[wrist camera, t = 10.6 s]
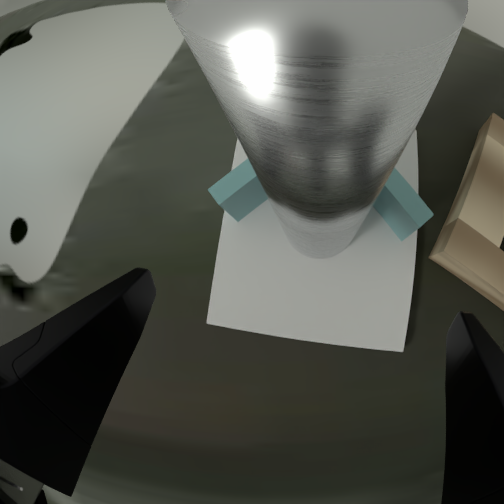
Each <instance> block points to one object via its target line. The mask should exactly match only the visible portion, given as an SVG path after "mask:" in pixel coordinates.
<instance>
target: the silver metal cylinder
mask: <svg viewBox="0 0 504 504" xmlns="http://www.w3.org/2000/svg"><path fill="white" fill-rule="evenodd" d="M165 2H166V4H167V7H168V10H169V11H170V13H171V15H172V17H173V18H174V20H175V22H176V24H177V25H178V27H179V29H180V31H181V32H182V34H183V36H184V38H185V40H186V42H187V43H188V45H189V47H190V49H191V51H192V52H193V54H194V56H195V58H196V60H197V62H198V63H199V65H200V67H201V69H202V71H203V73H204V75H205V76H206V78H207V80H208V82H209V84H210V86H211V88H212V90H213V91H214V93H215V95H216V97H217V99H218V101H219V103H220V105H221V107H222V109H223V110H224V112H225V114H226V116H227V118H228V120H229V122H230V124H231V126H232V128H233V130H234V132H235V134H236V136H237V138H238V139H239V141H240V143H241V145H242V147H243V149H244V151H245V153H246V155H247V157H248V159H249V161H250V163H251V165H252V167H253V169H254V171H255V173H256V175H257V177H258V179H259V181H260V183H261V185H262V187H263V189H264V192H265V194H266V196H267V198H268V200H269V202H270V204H271V206H272V208H273V210H274V212H275V214H276V216H277V218H278V220H279V222H280V225H281V227H282V229H283V231H284V233H285V235H286V237H287V239H288V241H289V242H290V244H291V245H292V246H293V247H294V248H295V249H296V250H297V251H298V252H300V253H301V254H303V255H305V256H307V257H311V258H316V259H325V258H330V257H333V256H335V255H337V254H339V253H341V252H342V251H343V250H345V249H346V248H347V247H348V245H349V244H350V243H351V241H352V239H353V238H354V236H355V235H356V233H357V231H358V230H359V228H360V226H361V225H362V223H363V221H364V220H365V218H366V216H367V215H368V213H369V211H370V209H371V208H372V206H373V204H374V203H375V201H376V199H377V197H378V196H379V194H380V192H381V191H382V189H383V187H384V185H385V183H386V182H387V180H388V178H389V176H390V175H391V173H392V171H393V169H394V167H395V165H396V164H397V162H398V160H399V158H400V156H401V154H402V153H403V151H404V149H405V147H406V145H407V143H408V141H409V139H410V137H411V136H412V134H413V132H414V130H415V128H416V126H417V124H418V122H419V120H420V118H421V116H422V114H423V112H424V110H425V108H426V106H427V104H428V102H429V100H430V98H431V96H432V93H433V91H434V89H435V87H436V85H437V83H438V81H439V79H440V76H441V74H442V72H443V70H444V68H445V65H446V63H447V61H448V59H449V56H450V54H451V52H452V50H453V47H454V45H455V43H456V40H457V38H458V35H459V33H460V31H461V28H462V26H463V23H464V20H465V18H466V14H467V11H468V1H467V0H165Z"/></svg>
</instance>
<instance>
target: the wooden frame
mask: <svg viewBox="0 0 504 504" xmlns="http://www.w3.org/2000/svg"><path fill="white" fill-rule="evenodd" d="M503 236H504V120H503V119H501V118H500V117H499V116H497V115H496V114H495V113H492V115H491V116H490V117H489V118H488V120H487V121H486V122H485V123H484V125H483V126H482V127H481V128H480V130H479V132H478V135H477V138H476V141H475V145H474V148H473V151H472V154H471V157H470V160H469V162H468V165H467V168H466V171H465V174H464V176H463V179H462V182H461V184H460V187H459V189H458V192H457V194H456V197H455V199H454V202H453V204H452V207H451V209H450V212H449V214H448V216H447V219H446V221H445V223H444V225H443V228H442V230H441V232H440V234H439V236H438V239H437V241H436V243H435V245H434V247H433V249H432V251H431V253H430V255H429V257H428V258H430V259H431V260H433V261H434V262H436V263H437V264H439V265H440V266H442V267H443V268H445V269H446V270H448V271H449V272H451V273H452V274H454V275H455V276H456V277H458V278H459V279H461V280H462V281H464V282H465V283H466V284H468V285H469V286H471V287H472V288H473V289H475V290H476V291H477V292H479V293H480V294H482V295H483V296H484V297H486V298H487V299H488V300H490V301H491V302H492V303H494V304H495V305H496V306H498V307H499V308H500V309H502V310H503V311H504V251H502V250H501V249H500V248H499V247H500V245H501V242H502V239H503Z"/></svg>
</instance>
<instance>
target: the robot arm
mask: <svg viewBox="0 0 504 504" xmlns="http://www.w3.org/2000/svg"><path fill="white" fill-rule="evenodd" d="M155 296H156V288H155V285H154V281H153V278H152V275H151V272H150V271H149V270H148V269H144V268H135V269H133V270H131V271H130V272H128V273H126V274H124V275H123V276H121V277H119V278H117V279H116V280H114V281H112V282H110V283H109V284H107V285H105V286H104V287H102V288H100V289H98V290H97V291H95V292H93V293H92V294H90V295H88V296H86V297H85V298H83V299H81V300H80V301H78V302H76V303H75V304H73V305H71V306H70V307H68V308H66V309H65V310H63V311H61V312H60V313H58V314H56V315H55V316H53V317H51V318H50V319H48V320H46V322H43V323H41V324H40V325H38V326H37V327H35V328H33V329H32V330H30V331H28V332H27V333H25V334H23V335H21V336H20V337H18V338H16V339H14V340H12V341H10V342H8V343H6V344H5V345H3V346H1V347H0V504H47V500H46V497H45V493H44V490H42V488H43V486H44V484H45V485H47V486H49V487H51V488H53V489H55V490H57V491H59V492H61V493H63V494H65V495H68V496H70V497H71V496H72V494H73V491H74V489H75V486H76V483H77V481H78V478H79V476H80V473H81V471H82V468H83V466H84V463H85V461H86V458H87V456H88V453H89V451H90V448H91V445H92V443H93V441H94V438H95V436H96V434H97V431H98V429H99V427H100V424H101V422H102V420H103V417H104V415H105V413H106V410H107V408H108V406H109V404H110V401H111V399H112V397H113V395H114V392H115V390H116V388H117V386H118V384H119V381H120V379H121V377H122V375H123V373H124V371H125V369H126V366H127V364H128V362H129V360H130V358H131V356H132V354H133V352H134V350H135V347H136V345H137V343H138V341H139V339H140V337H141V334H142V332H143V329H144V326H145V323H146V321H147V318H148V315H149V312H150V310H151V307H152V304H153V302H154V299H155ZM445 393H446V453H445V471H444V483H443V493H442V502H441V504H504V353H503V351H502V350H501V349H500V347H499V346H498V345H497V343H496V342H495V341H494V339H493V338H492V337H491V336H490V334H489V333H488V332H487V330H486V329H485V328H484V327H483V325H482V324H481V323H480V322H479V320H478V319H477V318H476V317H475V316H474V314H473V313H471V312H463V311H460V312H458V313H457V315H456V317H455V319H454V321H453V322H452V324H451V326H450V328H449V330H448V333H447V339H446V380H445Z"/></svg>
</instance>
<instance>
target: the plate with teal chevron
mask: <svg viewBox="0 0 504 504" xmlns="http://www.w3.org/2000/svg"><path fill="white" fill-rule="evenodd" d="M208 191H209V192H210V193H211V195H212V196H213V197H214V199H215V200H216V201H217V203H218V204H219V205H220V206H221V207H222V208H223V209H224V216H223V222H222V228H221V234H220V240H219V246H218V252H217V258H216V264H215V271H214V277H213V283H212V290H211V296H210V303H209V310H208V317H207V324H212V325H217V326H222V327H228V328H233V329H238V330H244V331H249V332H255V333H261V334H267V335H273V336H279V337H285V338H292V339H298V340H305V341H312V342H319V343H327V344H334V345H342V346H351V347H359V348H368V349H378V350H388V351H399V352H403V349H404V344H405V338H406V332H407V326H408V319H409V312H410V305H411V297H412V289H413V280H414V269H415V258H416V244H417V229H419V228H420V227H421V226H422V225H423V224H424V223H425V222H427V221H428V220H429V219H430V218H431V217H432V216H433V215H434V214H433V213H432V211H431V210H430V209H429V208H428V206H427V205H426V204H425V203H424V201H423V200H422V199H421V198H420V196H419V195H418V150H417V131H416V130H414V132H413V134H412V136H411V137H410V139H409V141H408V143H407V145H406V147H405V149H404V151H403V153H402V154H401V156H400V158H399V160H398V162H397V164H396V165H395V167H394V169H393V171H392V173H391V175H390V176H389V178H388V180H387V182H386V183H385V185H384V187H383V189H382V191H381V192H380V194H379V196H378V197H377V199H376V201H375V203H374V204H373V206H372V208H371V209H370V211H369V213H368V215H367V216H366V218H365V220H364V221H363V223H362V225H361V226H360V228H359V230H358V231H357V233H356V235H355V236H354V238H353V239H352V241H351V243H350V244H349V245H348V247H347V248H346V249H345V250H343V251H342V252H341V253H339V254H337V255H335V256H333V257H330V258H325V259H316V258H311V257H307V256H305V255H303V254H301V253H300V252H298V251H297V250H296V249H295V248H294V247H293V246H292V245H291V244H290V242H289V241H288V239H287V237H286V235H285V233H284V231H283V229H282V227H281V225H280V222H279V220H278V218H277V216H276V214H275V212H274V210H273V208H272V206H271V204H270V202H269V200H268V198H267V196H266V194H265V192H264V189H263V187H262V185H261V183H260V181H259V179H258V177H257V175H256V173H255V171H254V169H253V167H252V165H251V163H250V161H249V159H248V157H247V155H246V153H245V151H244V149H243V147H242V145H241V143H240V141H239V139H237V144H236V149H235V155H234V160H233V166H232V171H231V172H229V173H228V174H227V175H226V176H224V177H223V178H222V179H220V180H219V181H218V182H217V183H215V184H214V185H213V186H212V187H210V188H209V189H208Z"/></svg>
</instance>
